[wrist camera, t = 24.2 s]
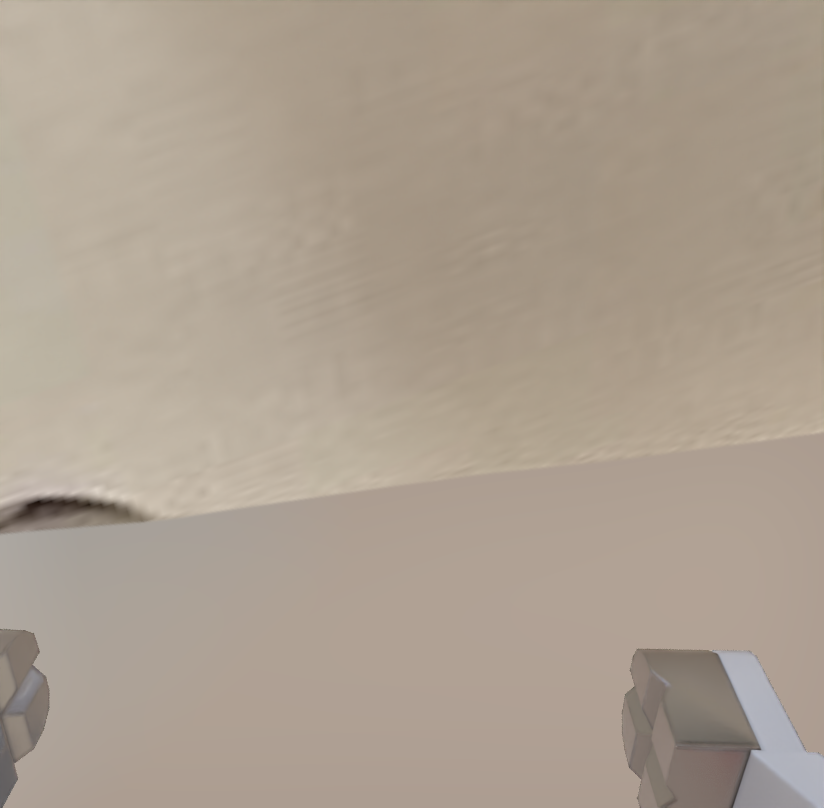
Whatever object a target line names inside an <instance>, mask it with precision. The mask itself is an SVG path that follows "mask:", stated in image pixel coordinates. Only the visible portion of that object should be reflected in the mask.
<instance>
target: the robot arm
mask: <svg viewBox="0 0 824 808" xmlns="http://www.w3.org/2000/svg"><path fill="white" fill-rule="evenodd" d="M39 652H40V651H39V648H38V645H37V641H36V638H35V635H34V633H31V632H28V631H25V630H7V629H0V808H3V806H4V804H5V802H6V800H7V798H8V796H9V795H10V793H11V791H12V789H13V787H14V785H15V783H16V782H17V780H18V777H17V773H16V769H15V765H14V763H15V762H17V761H18V760H20V759H21V758H22V757H23V756H25V755H26V754H28V753H29V752H30V751H32V750H33V749H34V748H35V746H36V744H37V742H38V740H39V738H40V736H41V734H42V732H43V730H44V726H45V723H46V719H47V715H48V711H49V687H48V683H47V679H46V676H45V675H43V674H42V673H41V672H40V671H39V670H38V669H37V668H36V667H35V666H33V665H32V664H33V663H34V661H35V659H36V658H37V656H38V654H39ZM630 672H631V675H632V678H633V681H634V685H635V686H634V687H633V688H632V689H631V690H630V691H629V692H627V693H626V694H625V698H624V704H623V710H622V736H623V742H624V749H625V754H626V757H627V761H628V765H629V768H630V769H631V770H632V771H633V772H634V773H635V774H636V775H637V776H638V777H639V778H640V779H641V784H640V789H639V793H638V797H637V799H638V802H639V806H640V808H824V756H823V755H821V754H820V753H815V752H807V751H806V749H805V747H804V745H803V743H802V742H801V740H800V738H799V736H798V734H797V732H796V730H795V728H794V726H793V724H792V723H791V721H790V719H789V717H788V715H787V714H786V711H785V709H784V707H783V706H782V704H781V702H780V700H779V698H778V697H777V694H776V692H775V690H774V688H773V687H772V685H771V683H770V681H769V679H768V677H767V675H766V673H765V671H764V669H763V668H762V666H761V664H760V662H759V660H758V658H757V656H756V655H754V654H753V653H752V652H751V651H737V650H735V651H734V650H712V651H709V650H674V649H672V650H671V649H669V650H668V649H637V650H636V652H635V654H634V656H633V659H632V664H631V668H630Z"/></svg>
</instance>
